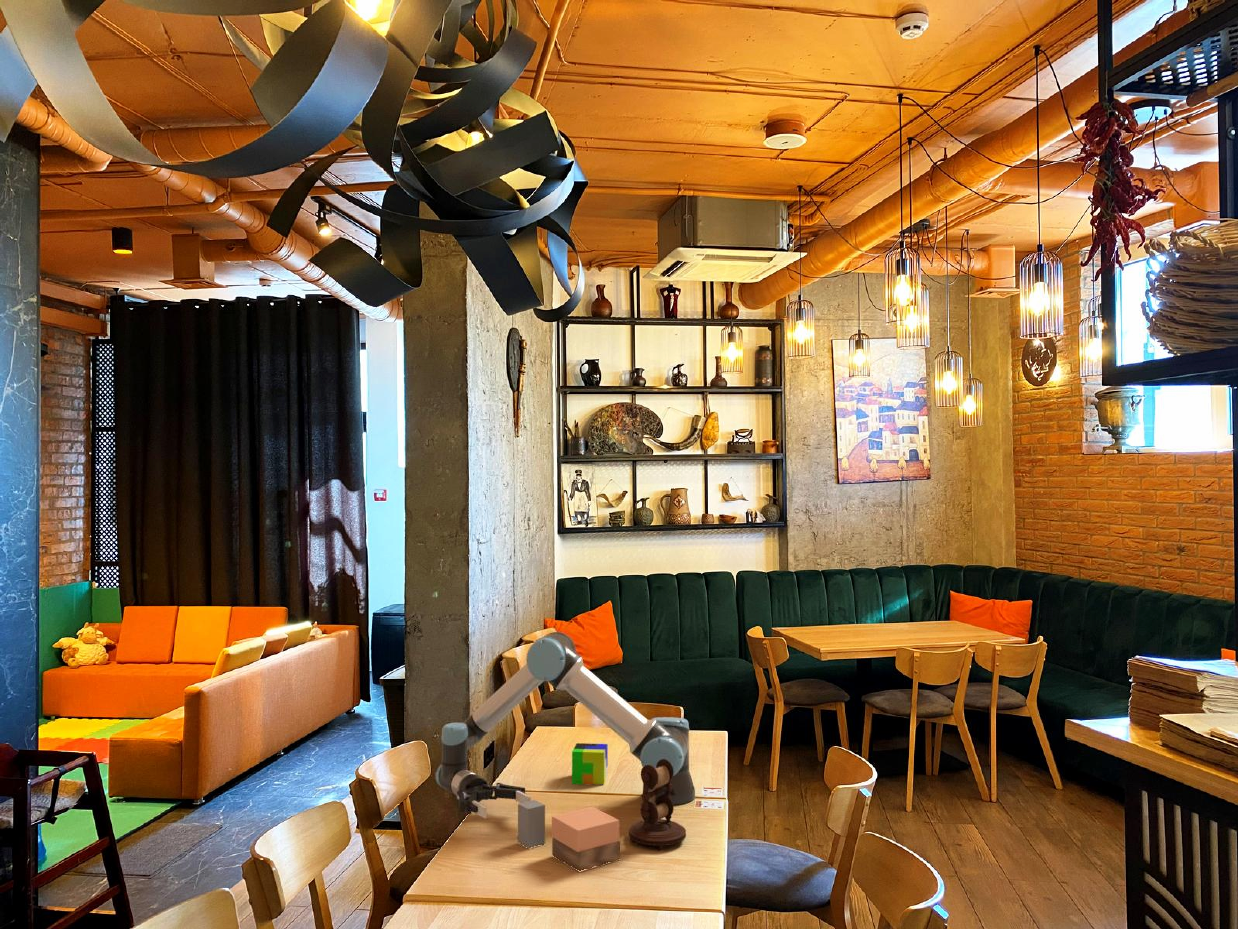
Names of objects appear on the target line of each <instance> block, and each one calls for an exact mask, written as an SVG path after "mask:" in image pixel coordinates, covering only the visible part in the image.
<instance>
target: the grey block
mask: <svg viewBox="0 0 1238 929" xmlns="http://www.w3.org/2000/svg"><path fill="white" fill-rule="evenodd" d="M518 842H519V843H520V844H521V845H524V846H525V847H527V848H528V849H527V848H526V849H527V850H530V849H529V848H531V847H534V846H538V845H542V846H545V845H546V804H544V803H542V802H540V801H538V800H536V799H531V801H528V802H523V803H519V802H518V803H517V843H518ZM520 844H519V845H520ZM544 844H545V845H544ZM521 845H520V846H521ZM525 847H524V848H525Z"/></svg>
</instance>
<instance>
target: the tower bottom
mask: <svg viewBox="0 0 1238 929" xmlns="http://www.w3.org/2000/svg"><path fill="white" fill-rule="evenodd" d="M551 838H552V839H551V840H552V841H551V845H552V846H551V847H552V848H551V850H552V851H551V854H552V855H553V856H554V857H556V858H557V859H559V860H560V861H559V860H558V861H559V862H561V861H562V862H565V863H566V864H568V865H569V866H572V867H573V868H575V869H577V870H579V871H581V870H584V869H590V868H592V867H594V866H600V867H602V866H601V865H603V864H606V863H608V862H613V863H615V862H614V861H616V860H619V859H620V860H621V840H619V841H618V842H614V843H610V844H607V845H603V846H599V847H595V848H592V849H588V850H584V851H581V852H577V851H575V850H573V849H572V848H570V847H568V846H567V845H565V844H563V843H562V842H560V841H558V840H556V839H555V838H553V837H552V836H551ZM552 855H551V856H552ZM554 857H553V858H554ZM556 858H555V859H556ZM557 859H556V860H557ZM620 860H619V861H620ZM562 862H561V863H562ZM616 862H617V861H616ZM566 864H565V865H566ZM568 865H567V866H568ZM606 865H607V864H606ZM569 866H568V867H569ZM603 866H604V865H603ZM573 868H572V869H573ZM575 869H574V870H575ZM590 870H591V869H590Z"/></svg>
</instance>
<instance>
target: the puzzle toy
mask: <svg viewBox="0 0 1238 929" xmlns="http://www.w3.org/2000/svg"><path fill="white" fill-rule="evenodd" d="M608 751H609V750H608V743H585V742H584V743H583V742H582V743H579V742H577V743H576V744H575V745H574V747H573V749H572V752H571V785H583V784H604V783H605V784H606V781H607V778H608V775H607V773H608V774H609V772H608V770H609V769H608V765H609V763H608V759H609V758H608ZM606 777H607V778H606ZM605 780H606V781H605ZM605 784H604V785H605Z"/></svg>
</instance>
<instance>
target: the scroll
mask: <svg viewBox="0 0 1238 929" xmlns="http://www.w3.org/2000/svg"><path fill="white" fill-rule="evenodd" d="M673 775H674V770H673V766H672V764H671V763H670V762H669V761H668V760H666V759H661V760H659V761H658V763H657V765H656V768H654V767H653V766H651V765H645V766H644V767H642V768H641V771H640V779H641V781H642V794H641V804H640V817H641V819H642V820H640V821H638V822H635V823H634V824H633V825H631V826H630V827H629V828H628V837H629V841H630V842H635V843H638V844H641V845H644V846H645V845H647V846H655V847H656V846H657V847H658V848H659V851H660V850H662V851H663V849H664V846H670V845H671V846H672V845H674V844H679V843H680V842H683V841H684V840H686V836H687V830H686V828H685V827H684V826H683V825H682V824H680V823H678V822H676V821H673V820H671V819H672V815H673V813H674V805H673V803H672V801H671V796H670V792H671V790H672V784H671V783H670V782H671V779H672V777H673ZM662 785H664V786H662ZM660 786H662V787H661V788H657V787H660ZM656 788H657V789H656ZM662 792H666V795H660V796H659V797H658V798H657V800H656V803H655V796H656V795H659V794H661V793H662ZM664 818H665V819H664Z"/></svg>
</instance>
